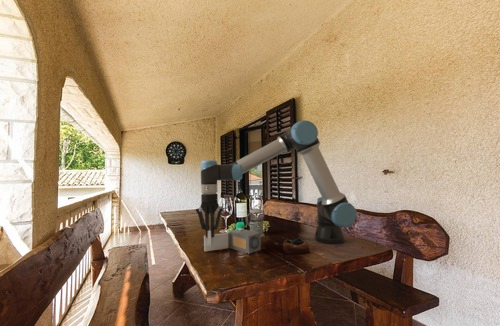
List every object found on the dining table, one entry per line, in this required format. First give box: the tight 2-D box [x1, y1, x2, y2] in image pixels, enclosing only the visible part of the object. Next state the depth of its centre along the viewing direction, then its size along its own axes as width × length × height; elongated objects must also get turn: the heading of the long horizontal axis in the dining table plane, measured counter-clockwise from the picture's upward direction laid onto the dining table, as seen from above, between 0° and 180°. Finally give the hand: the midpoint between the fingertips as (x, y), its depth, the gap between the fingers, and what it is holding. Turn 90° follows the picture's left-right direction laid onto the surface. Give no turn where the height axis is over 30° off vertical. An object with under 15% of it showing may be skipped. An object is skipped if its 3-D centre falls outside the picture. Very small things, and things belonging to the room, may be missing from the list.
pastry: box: [282, 238, 311, 255], centre depth 113 cm, size 11×12×6 cm
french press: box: [245, 192, 266, 238], centre depth 144 cm, size 10×12×25 cm
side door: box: [203, 232, 231, 252], centre depth 116 cm, size 13×2×7 cm, turn 114°
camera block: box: [228, 228, 262, 255], centre depth 117 cm, size 16×8×9 cm, turn 45°
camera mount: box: [235, 221, 245, 230], centre depth 132 cm, size 12×8×10 cm, turn 16°
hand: (210, 244), depth 112 cm, fingers closed
